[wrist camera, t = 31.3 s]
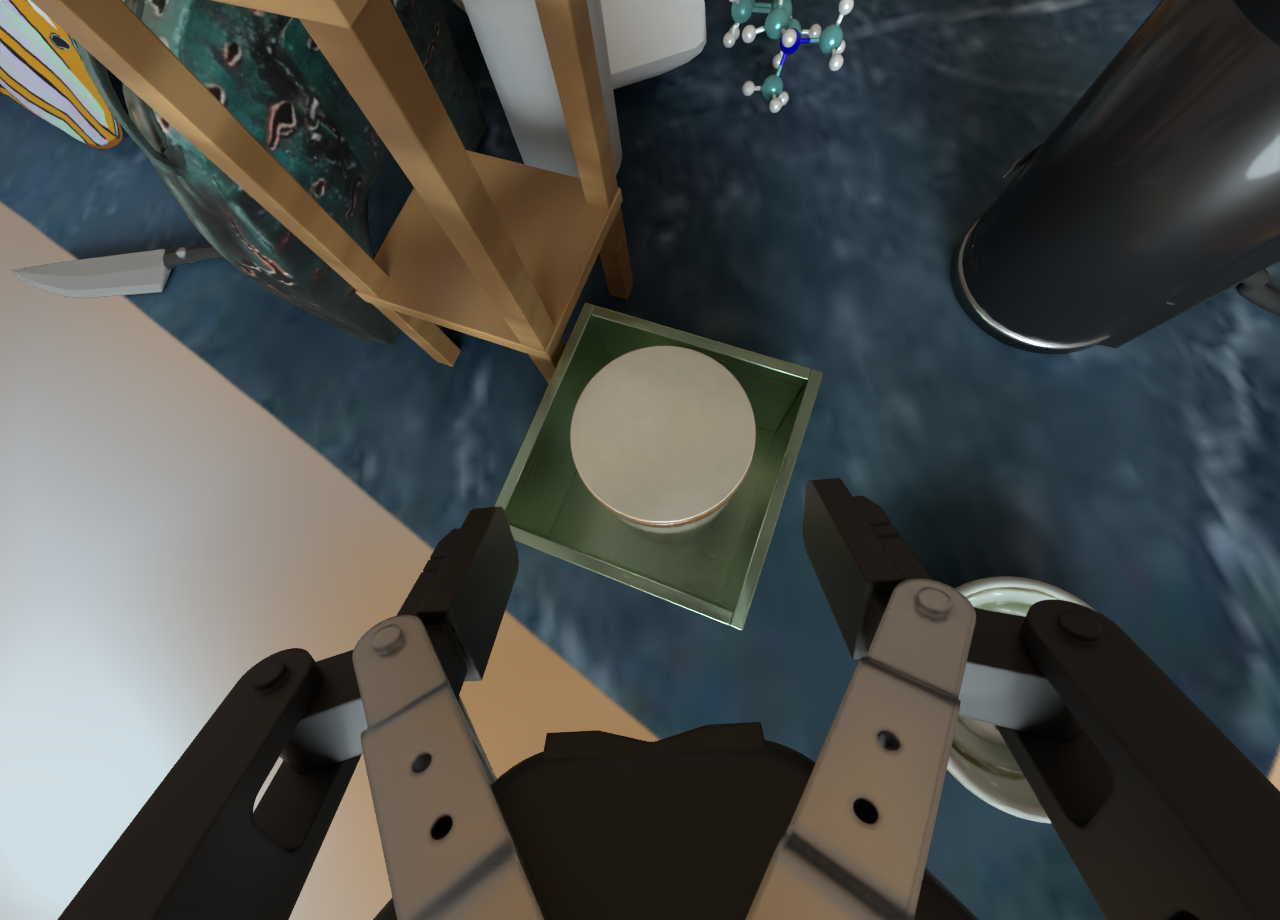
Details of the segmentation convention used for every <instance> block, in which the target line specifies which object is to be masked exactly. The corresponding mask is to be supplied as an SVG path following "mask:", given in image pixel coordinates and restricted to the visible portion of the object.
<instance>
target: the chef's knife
mask: <svg viewBox="0 0 1280 920" xmlns="http://www.w3.org/2000/svg"><path fill="white" fill-rule="evenodd" d="M220 257H223V256H222V255H221V254H220V253H219V252H218V251H217V250H216V249H215V248H214V247H213V246H212V245H211V244H206V245H198V246H190V247H181V248H168V249H160V250H153V251H145V252H137V253H129V254H121V255H113V256H105V257H97V258H89V259H82V260H74V261H67V262H60V263H53V264H46V265H40V266H33V267H27V268H22V269H16V270H12V272H13V273H14V274H16V275H17V276H18V277H19V278H21V279H22V280H23V281H24V282H25V283H27V284H28V285H30V286H33V287H36V288H40V289H43V290H46V291H49V292H52V293H55V294H59V295H62V296H65V297H76V298H94V297H105V296H118V295H131V294H143V293H155V292H162V291H163V289H164V287H165V285H166V282H167V280H168V277H169V274H170V271H171V269H172V268H174V267H175V266H177V265H180V264H187V263H192V262H197V261H202V260H206V259H212V258H220Z"/></svg>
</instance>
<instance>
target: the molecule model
mask: <svg viewBox="0 0 1280 920" xmlns="http://www.w3.org/2000/svg"><path fill="white" fill-rule="evenodd" d="M729 1H730V2H732V7H731V15H732V18H733V20H734V21H735V22H734V25H733V26H732V27H731V28H730V30H729V32H728V33H726V34H725V36H724V38H723V44H724V46H725V47H726V48H731V47H732V46H733V45H734V43H735V40H737V39H738V37H739V34H740V30H739V28H738V27H739V24H742V23H745V22H746V21H747V20H748V19H749V18H750V16H751V14H752V12H753V13H768V16H767V18H766V20H765V26H762V27H759V28H757V29H755V27H754V26H753V25H748V26H746V27H745V28H744V30H743V32H742V38H743V41H744V42H745V43H751V42H752V41H753V40H754V39H755V36H756V34H758V33H761V32H764V31H765V32H766V34H767V36H768V37H769V38H771V39H774V40H775V39H779V38H780V49H781V51H780V54H777V55H775V56H774V58H773V61H772V64H773V67H774V68H776V69H778V70H777V72H776V75H770V76H769V77H767V78H766V79H765V81H764V82H763V85H762V86H754V83H753V82H752V81H747V82H745V83H744V85H743V88H742V91H743V94H744V95H745V96H750V95H752V94H753V92H754V91H762V95H763V97H764V98H765V99H766V100H768V101H770V104H769V109H770V111H771V112H772V113H777V112H778V111H779V110H780V109H781V107H782V106H783V105H785V104H786V103H787V102H788V98H789V96H788V93H787V92H785V91H783V81H782V79H781V77H780V76H779V75H780V72H781V70H782V67H783V64H784V62H785V59H786V57H787V55H790V54H793V53H794V52H795V51H796V50H797V49H798V48H799V45H800V44H801V43H819V47H820V50H821V51H822V52H823V53H824V54H832V57H831V59H830V61H829V68H830V69H831V70H832V71H837V70H839V69H840V68H841V66H842V64H843V56H842V55H841V53H842V52H843V51H844V49H845V41H844V40H843V31H842V28H841V27H840V26H839V25H840V23H841V21H842V19H843V16H844V15H847V14H848V13H850V11H851V10H852V8H853V5H854V0H841V1H840V3H839V12H840V15H839V17H838V20H837V22H836V24H832V25H829V26H827V27H826V28H825V29H824V30H823V31H822V33H821V26H820V25H819V24H814V25H812V26H811V27H810V29H809V30H801V25H800V23H799V21H798V20H797V19H795V18H792V9H793V8H792V1H791V0H773V1H772V3H757V2H756V1H755V0H729ZM758 7H759V8H758ZM800 34H808V35H809V38H801V35H800ZM820 34H821V35H820ZM819 36H820V37H819ZM783 53H784V54H783Z"/></svg>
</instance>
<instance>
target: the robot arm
mask: <svg viewBox="0 0 1280 920" xmlns="http://www.w3.org/2000/svg"><path fill="white" fill-rule="evenodd" d="M1026 162H1027V164H1026V165H1025V166H1024V167H1023V169H1022V170H1021V171H1020V172H1019V173H1018V175H1017V176H1016V177H1015V178H1014V179H1013V181H1012V182H1011V183H1010V184H1009V185H1008V187H1007V188H1006V189H1005V190H1004V191H1003V193H1002V194H1001V195H1000V196H999V198H998V199H997V200H996V201H995V202H994V204H992V205H991V206H990V208H988V210H987V211H986V212H985V213H984V214H983V216H982V217H981V218H980V219H979V220H978V221H977V222H976V223H975V224H974V225H973V226H972V227H971V229H970V230H969V231H968V232H967V234H966V235H965V236H964V237H963V239H962V240H961V241H960V243H959V245H958V247H957V249H956V251H955V254H954V257H953V261H952V269H951V274H952V283H953V287H954V291H955V294H956V296H957V299H958V301H959V302H960V304H961V306H962V308H963V309H964V311H965V312H966V313H967V315H968V316H969V317H970V318H971V319H972V320H973V321H974V322H975V323H976V324H977V325H978V326H979V327H980V328H981V329H982V330H984V331H985V332H986V333H988V334H989V335H991V336H992V337H994V338H996V339H997V340H999V341H1001V342H1003V343H1005V344H1008V345H1010V346H1013V347H1015V348H1018V349H1022V350H1025V351H1030V352H1035V353H1043V354H1063V353H1071V352H1076V351H1080V350H1083V349H1086V348H1089V347H1091V346H1094V345H1096V344H1099V345H1105V346H1109V347H1113V348H1117V347H1119V346H1121V345H1123V344H1125V343H1126V342H1128V341H1130V340H1132V339H1134V338H1136V337H1138V336H1140V335H1141V334H1143V333H1145V332H1147V331H1149V330H1151V329H1153V328H1155V327H1156V326H1158V325H1160V324H1162V323H1164V322H1166V321H1168V320H1170V319H1171V318H1173V317H1175V316H1177V315H1179V314H1182V313H1185V312H1186V311H1188V310H1190V309H1192V308H1194V307H1196V306H1198V305H1200V304H1202V303H1203V302H1205V301H1207V300H1209V299H1211V298H1213V297H1215V296H1217V295H1218V294H1220V293H1222V292H1224V291H1226V290H1228V289H1230V288H1232V287H1233V286H1235V285H1237V284H1238V286H1237V290H1238V292H1239V294H1240V295H1241V296H1243V297H1244V298H1246V299H1248V300H1249V301H1251V302H1253V303H1254V304H1256V305H1258V306H1260V307H1262V308H1264V309H1266V310H1268V311H1270V312H1272V313H1275V314H1277V315H1280V292H1278V291H1276V290H1274V289H1273V288H1271V287H1269V286H1268V285H1266V283H1267V282H1268V280H1269V278H1270V276H1269V274H1268V272H1267V271H1266V270H1265V268H1267V267H1269V266H1271V265H1273V264H1274V263H1276V262H1278V261H1280V0H1162V1H1161V2H1160V3H1159V4H1158V5H1157V7H1156V8H1155V9H1154V10H1153V11H1152V13H1151V14H1150V15H1149V16H1148V17H1147V19H1146V20H1145V21H1144V22H1143V23H1142V25H1141V26H1140V27H1139V28H1138V30H1137V31H1136V32H1135V33H1134V34H1133V36H1132V37H1131V38H1130V39H1129V40H1128V42H1127V43H1126V44H1125V45H1124V46H1123V48H1122V49H1121V50H1120V51H1119V52H1118V54H1117V55H1116V56H1115V57H1114V59H1113V60H1112V61H1111V62H1110V63H1109V65H1108V66H1107V67H1106V68H1105V69H1104V71H1103V72H1102V73H1101V74H1100V75H1099V77H1098V78H1097V79H1096V80H1095V82H1094V83H1093V84H1092V85H1091V86H1090V88H1089V89H1088V90H1087V91H1086V92H1085V94H1084V95H1083V96H1082V97H1081V98H1080V100H1079V101H1078V102H1077V103H1076V104H1075V106H1074V107H1073V108H1072V109H1071V111H1070V112H1069V113H1068V114H1067V115H1066V117H1065V118H1064V119H1063V120H1062V121H1061V123H1060V124H1059V125H1058V126H1057V127H1056V129H1055V130H1054V131H1053V132H1052V133H1051V135H1050V136H1049V137H1048V138H1047V140H1046V141H1045V142H1044V143H1043V144H1041V145H1040V146H1038V147H1037V148H1035V149H1033V150H1032V151H1030V152H1029V153H1027V154H1026V155H1024V156H1023V157H1021V158H1020V159H1018V160H1017V161H1016V162H1015V163H1014V164H1013V166H1012V167H1011V168H1010V169H1009V171H1008V172H1007V173H1006V174H1005V176H1007V175H1008V174H1010V173H1011V172H1013V171H1014V170H1016V169H1017V168H1019V167H1020V166H1022V165H1023V164H1025V163H1026ZM1005 176H1004V177H1005ZM1004 177H1003V178H1004ZM803 538H804V544H805V548H806V551H807V554H808V556H809V558H810V561H811V563H812V565H813V568H814V570H815V572H816V575H817V577H818V579H819V582H820V584H821V586H822V589H823V591H824V593H825V596H826V598H827V600H828V603H829V605H830V607H831V610H832V612H833V614H834V617H835V619H836V621H837V623H838V626H839V628H840V630H841V633H842V635H843V637H844V640H845V642H846V644H847V647H848V649H849V651H850V654H851V656H852V658H853V660H854V659H860V661H859V663H858V665H857V667H856V670H855V672H854V675H853V677H852V679H851V682H850V684H849V686H848V689H847V691H846V693H845V696H844V698H843V700H842V703H841V705H840V707H839V710H838V712H837V715H836V717H835V719H834V722H833V724H832V726H831V729H830V731H829V733H828V736H827V738H826V740H825V743H824V745H823V748H822V750H821V752H820V755H819V757H818V759H817V762H816V763H815V762H814V761H812V760H811V759H809V758H808V757H806V756H804V755H803V754H801V753H799V752H797V751H795V750H793V749H791V748H789V747H786V746H784V745H781V744H778V743H775V742H771V741H767V740H764V736H763V731H762V726H761V722H754V723H734V724H715V725H705V726H702V727H699V728H696V729H693V730H690V731H687V732H684V733H681V734H678V735H674V736H671V737H668V738H665V739H662V740H659V741H655V742H647V741H642V740H637V739H633V738H629V737H625V736H620V735H615V734H611V733H607V732H602V731H580V732H560V733H547V736H546V741H545V747H544V752H541V753H538V754H536V755H534V756H531V757H529V758H527V759H525V760H523V761H522V762H520V763H518V764H517V765H515V766H514V767H512V768H511V769H509V770H508V771H507V772H505V773H504V774H503V775H501V776H500V777H499V778H498V779H497V778H496V776H495V774H494V772H493V770H492V768H491V766H490V763H489V762H488V759H487V757H486V754H485V752H484V750H483V748H482V745H481V743H480V741H479V739H478V736H477V734H476V732H475V729H474V727H473V725H472V723H471V720H470V718H469V716H468V714H467V711H466V709H465V707H464V704H463V702H462V700H461V698H460V696H459V693H460V690H461V687H462V685H463V682H464V681H479V680H482V678H483V675H484V672H485V669H486V666H487V663H488V659H489V657H490V654H491V651H492V648H493V645H494V642H495V639H496V636H497V632H498V630H499V627H500V624H501V621H502V618H503V615H504V612H505V609H506V606H507V603H508V600H509V596H510V593H511V590H512V587H513V584H514V581H515V578H516V575H517V572H518V564H519V560H518V551H517V548H516V545H515V542H514V538H513V535H512V532H511V529H510V526H509V523H508V520H507V517H506V514H505V511H504V509H503V508H502V507H488V508H476V509H472V510H471V511H470V512H469V514H468V516H467V518H466V520H465V521H464V523H463V525H462V527H461V528H460V529H453V530H452V531H451V532H450V533H449V534H448V535H447V536H445V537H444V538H443V539H442V540H441V541H440V542H439V543H438V545H437V546H436V548H435V550H434V552H433V553H432V555H431V558H430V560H429V561H428V562H427V564H426V566H425V567H424V569H423V573H421V574H420V576H419V578H418V580H417V581H416V583H415V585H414V587H413V588H412V590H411V592H410V593H409V595H408V597H407V599H406V600H405V602H404V604H403V606H402V607H401V609H400V611H399V612H398V614H397V616H394V617H391V618H388V619H386V620H384V621H382V622H380V623H378V624H377V625H375V626H374V627H372V628H371V629H370V630H369V631H367V632H366V633H365V634H364V635H363V636H362V637H361V639H360V640H359V641H358V643H357V644H356V646H355V648H354V650H351V651H348V652H345V653H342V654H339V655H336V656H333V657H330V658H327V659H324V660H321V661H318V662H315V661H314V659H313V658H312V656H311V655H310V654H309V652H307V651H306V650H303V649H299V648H292V649H287V650H284V651H280V652H277V653H275V654H273V655H271V656H269V657H267V658H265V659H263V660H262V661H260V662H259V663H257V664H256V665H255V666H253V667H252V668H251V669H250V670H248V671H247V672H246V673H245V674H244V675H243V676H242V677H241V679H240V680H239V681H238V682H237V683H236V685H235V686H234V687H233V689H232V690H231V691H230V693H229V694H228V695H227V697H226V698H225V699H224V701H223V702H222V703H221V704H220V706H219V707H218V708H217V710H216V712H214V714H213V715H212V716H211V718H210V719H209V720H208V722H207V723H206V724H205V726H204V727H203V728H202V730H201V731H200V732H199V734H198V735H197V736H196V738H195V739H194V740H193V742H192V743H191V744H190V746H189V747H188V748H187V749H186V751H185V752H184V753H183V755H182V756H181V758H180V759H179V760H178V761H177V763H176V764H175V765H174V767H173V768H172V769H171V770H170V772H169V773H168V774H167V776H166V777H165V779H164V780H163V781H162V782H161V784H160V785H159V786H158V788H157V789H156V790H155V792H154V793H153V794H152V796H151V797H150V798H149V800H148V801H147V802H146V804H145V805H144V806H143V807H142V809H141V810H140V811H139V813H138V814H137V815H136V817H135V818H134V819H133V821H132V822H131V823H130V825H129V826H128V827H127V829H126V830H125V831H124V833H123V834H122V835H121V837H120V838H119V839H118V840H117V842H116V843H115V844H114V846H113V847H112V849H111V850H110V851H109V852H108V854H107V855H106V856H105V858H104V859H103V860H102V862H101V863H100V864H99V866H98V867H97V868H96V870H95V871H94V872H93V874H92V875H91V876H90V877H89V879H88V880H87V881H86V883H85V884H84V885H83V887H82V888H81V889H80V891H79V892H78V893H77V895H76V896H75V897H74V899H73V900H72V901H71V902H70V904H69V905H68V906H67V908H66V909H65V910H64V912H63V913H62V915H61V916H60V917H59V918H58V920H288V919H289V917H290V915H291V913H292V910H293V908H294V906H295V904H296V901H297V899H298V897H299V895H300V892H301V890H302V888H303V885H304V883H305V881H306V879H307V876H308V874H309V872H310V870H311V868H312V865H313V863H314V861H315V858H316V856H317V854H318V852H319V850H320V847H321V845H322V842H323V840H324V838H325V836H326V834H327V831H328V829H329V827H330V824H331V822H332V820H333V818H334V816H335V813H336V811H337V809H338V807H339V804H340V802H341V800H342V798H343V795H344V793H345V791H346V788H347V786H348V784H349V782H350V779H351V777H352V775H353V773H354V771H355V768H356V766H357V763H358V762H359V759H360V757H361V755H362V754H363V755H364V760H365V764H366V769H367V775H368V779H369V784H370V789H371V794H372V799H373V804H374V808H375V814H376V818H377V823H378V828H379V833H380V837H381V843H382V848H383V852H384V858H385V862H386V867H387V872H388V877H389V882H390V887H391V892H392V899H391V900H390V901H389V902H388V903H387V904H386V905H385V907H384V908H383V909H382V910H381V911H380V912H379V913H378V914H377V916H376V917H375V918H374V919H373V920H979V919H978V918H977V917H976V916H975V915H974V914H973V913H972V912H971V911H970V910H969V909H968V908H967V907H966V906H965V905H963V904H962V903H961V902H960V901H959V900H958V899H957V898H956V897H955V896H954V895H953V894H952V893H951V892H950V891H949V890H948V889H947V888H946V887H945V886H944V885H943V884H942V883H941V882H940V881H939V880H938V879H937V878H936V877H935V876H934V875H933V874H932V873H931V872H930V871H929V870H928V869H927V868H926V867H925V866H926V861H927V857H928V852H929V847H930V843H931V838H932V834H933V829H934V825H935V820H936V815H937V811H938V806H939V802H940V797H941V793H942V788H943V783H944V779H945V774H946V770H947V765H948V761H949V756H950V751H951V747H952V742H953V738H954V733H955V728H956V724H957V719H958V716H961V717H965V718H969V719H973V720H978V721H982V722H986V723H990V724H994V725H996V727H997V729H998V731H999V732H1000V734H1001V736H1002V738H1003V739H1004V741H1005V743H1006V745H1007V746H1008V748H1009V750H1010V752H1011V753H1012V755H1013V757H1014V759H1015V760H1016V762H1017V764H1018V765H1019V767H1020V769H1021V771H1022V772H1023V774H1024V776H1025V778H1026V779H1027V781H1028V783H1029V785H1030V786H1031V788H1032V790H1033V792H1034V793H1035V795H1036V797H1037V799H1038V800H1039V802H1040V804H1041V806H1042V807H1043V809H1044V811H1045V813H1046V814H1047V816H1048V818H1049V819H1050V821H1051V823H1052V825H1053V826H1054V828H1055V830H1056V832H1057V833H1058V835H1059V837H1060V839H1061V840H1062V842H1063V844H1064V846H1065V847H1066V849H1067V851H1068V853H1069V854H1070V856H1071V858H1072V860H1073V861H1074V863H1075V865H1076V867H1077V868H1078V870H1079V872H1080V874H1081V875H1082V877H1083V879H1084V880H1085V882H1086V884H1087V886H1088V887H1089V889H1090V891H1091V893H1092V894H1093V896H1094V898H1095V900H1096V901H1097V903H1098V905H1099V907H1100V908H1101V910H1102V912H1103V914H1104V915H1105V917H1106V919H1107V920H1280V792H1279V790H1277V788H1276V787H1275V786H1274V785H1273V784H1272V783H1271V782H1270V781H1269V780H1268V779H1267V778H1266V777H1265V776H1264V775H1263V774H1262V773H1261V772H1260V771H1259V770H1258V769H1257V768H1256V767H1255V766H1254V765H1253V764H1252V763H1251V762H1250V761H1249V760H1248V759H1247V758H1246V757H1245V756H1244V754H1243V753H1242V752H1241V751H1240V750H1239V749H1238V748H1237V747H1236V746H1235V745H1234V744H1233V743H1232V742H1231V741H1230V740H1229V739H1228V738H1227V737H1226V736H1225V735H1224V734H1223V733H1222V732H1221V731H1220V730H1219V729H1218V728H1217V727H1216V726H1215V725H1214V724H1213V723H1212V722H1211V721H1210V720H1209V719H1208V718H1207V717H1206V715H1205V714H1204V713H1203V712H1202V711H1201V710H1200V709H1199V708H1198V707H1197V706H1196V705H1195V704H1194V703H1193V702H1192V701H1191V700H1190V699H1189V698H1188V697H1187V696H1186V695H1185V694H1184V693H1183V692H1182V691H1181V690H1180V689H1179V688H1178V687H1177V686H1176V685H1175V684H1174V683H1173V682H1172V681H1171V680H1170V679H1169V677H1168V676H1167V675H1166V674H1165V673H1164V672H1163V671H1162V670H1161V669H1160V668H1159V667H1158V666H1157V665H1156V664H1155V663H1154V662H1153V661H1152V660H1151V659H1150V658H1149V657H1148V656H1147V655H1146V654H1145V653H1144V652H1143V651H1142V650H1141V649H1140V648H1139V647H1138V646H1137V645H1136V644H1135V643H1134V642H1133V641H1132V639H1131V638H1130V637H1129V636H1128V635H1127V634H1126V633H1125V632H1124V631H1123V630H1122V629H1121V628H1120V627H1119V626H1117V625H1116V624H1115V623H1114V622H1113V621H1111V620H1110V619H1108V618H1107V617H1105V616H1104V615H1102V614H1100V613H1098V612H1096V611H1094V610H1093V609H1090V608H1088V607H1085V606H1083V605H1080V604H1077V603H1073V602H1069V601H1064V600H1052V599H1050V600H1042V601H1038V602H1036V603H1034V604H1033V605H1032V606H1031V607H1030V608H1029V610H1028V612H1027V615H1026V617H1024V616H1018V615H1012V614H1007V613H1001V612H995V611H989V610H984V609H979V608H976V607H973V605H972V604H971V602H970V601H969V600H968V599H967V598H966V597H965V596H964V595H963V594H962V593H960V592H959V591H957V590H956V589H954V588H952V587H950V586H948V585H946V584H944V583H941V582H938V581H934V580H932V578H931V577H930V575H929V574H928V573H927V571H926V570H925V568H924V567H923V566H922V564H921V563H920V561H919V560H918V559H917V557H916V556H915V555H914V553H913V552H912V550H911V549H910V548H909V546H908V545H907V543H906V542H905V541H904V539H903V538H902V537H900V534H899V532H898V531H897V529H896V528H895V527H894V525H892V524H891V521H890V520H889V518H888V517H887V515H886V514H885V513H884V511H883V510H882V508H881V507H879V506H878V505H876V504H875V503H873V502H872V501H870V500H869V499H867V498H866V497H864V496H856V497H852V495H851V494H850V492H849V491H848V489H847V488H846V486H845V485H844V483H843V482H842V480H841V479H839V478H835V479H824V480H812V481H808V483H807V486H806V496H805V509H804V521H803ZM279 756H280V757H281V758H282V759H283V762H282V764H281V766H280V767H279V769H278V771H277V773H276V774H275V776H274V778H273V780H272V781H271V783H270V785H269V787H268V788H267V790H266V792H265V794H264V795H263V797H262V799H261V801H260V802H259V804H258V806H257V808H256V809H255V811H254V813H253V807H254V802H255V799H256V796H257V794H258V792H259V790H260V788H261V787H262V785H263V783H264V781H265V780H266V778H267V776H268V775H269V773H270V771H271V770H272V768H273V766H274V765H275V763H276V761H277V759H278V757H279Z"/></svg>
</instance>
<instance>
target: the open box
mask: <svg viewBox="0 0 1280 920" xmlns="http://www.w3.org/2000/svg"><path fill="white" fill-rule="evenodd" d="M652 346H677V347H683V348H687V349H692V350H695V351H697V352H700V353H703V354H705V355H707V356H709V357H710V358H712V359H714V360H715V361H717V362H718V363H720V364H721V365H723V366H724V367H725V368H726V369H727V370H728V371H729V372H731V373H732V375H733V376H734V377H735V378H736V379H737V380H738V382H739V383H740V385H741V386H742V388H743V389H744V391H745V392H746V395H747V397H748V399H749V401H750V403H751V406H752V410H753V413H754V417H755V423H756V447H755V453H754V456H753V460H752V463H751V466H750V468H749V471H748V473H747V475H746V477H745V478H744V480H743V482H742V483H741V485H740V487H739V488H738V490H737V491H736V492H735V494H734V495H733V496H732V497H731V499H730V501H729V502H728V504H727V506H726V507H725V509H724V511H723V512H722V514H721V516H720V517H719V519H718V520H717V522H716V523H715V524H714V526H713V527H712V528H711V529H710V530H708V531H707V532H706V533H705V534H703V535H702V536H700V537H698V538H697V539H695V540H692V541H690V542H687V543H683V544H676V545H663V544H657V543H653V542H650V541H648V540H645V539H643V538H641V537H640V536H638V535H637V534H635V533H634V532H633V531H632V530H630V529H629V528H628V527H627V526H626V525H625V524H624V523H623V522H622V521H621V520H620V519H619V518H618V517H617V516H616V515H615V514H614V513H612V512H611V511H609V510H608V509H607V508H606V507H605V506H603V505H602V504H601V503H600V502H599V501H598V500H597V499H596V498H595V497H594V496H593V495H592V494H591V493H590V492H589V490H588V489H587V487H586V486H585V485H584V483H583V482H582V480H581V478H580V476H579V474H578V472H577V470H576V467H575V464H574V461H573V457H572V452H571V444H570V431H571V422H572V417H573V412H574V410H575V407H576V404H577V401H578V399H579V397H580V395H581V393H582V391H583V390H584V389H585V387H586V386H587V384H588V383H589V381H590V380H591V379H592V378H593V377H594V376H595V375H596V373H598V372H599V371H600V370H601V369H602V368H603V367H604V366H606V365H607V364H609V363H610V362H611V361H613V360H614V359H616V358H618V357H620V356H622V355H624V354H626V353H629V352H631V351H634V350H637V349H641V348H645V347H652ZM822 377H823V372H819V371H816V370H811V369H809V368H806V367H802V366H799V365H796V364H792V363H789V362H786V361H782V360H779V359H775V358H772V357H769V356H765V355H762V354H758V353H755V352H752V351H748V350H745V349H741V348H738V347H735V346H731V345H728V344H724V343H721V342H718V341H714V340H711V339H707V338H704V337H701V336H697V335H694V334H691V333H687V332H684V331H680V330H677V329H674V328H670V327H667V326H663V325H660V324H657V323H653V322H650V321H646V320H643V319H640V318H636V317H633V316H629V315H626V314H623V313H619V312H616V311H612V310H609V309H606V308H602V307H599V306H595V305H592V304H589V303H585V304H584V306H583V309H582V311H581V313H580V315H579V317H578V320H577V322H576V324H575V326H574V329H573V331H572V333H571V335H570V338H569V340H568V342H567V344H566V347H565V349H564V351H563V353H562V356H561V358H560V360H559V362H558V365H557V367H556V369H555V371H554V374H553V376H552V378H551V380H550V383H549V385H548V387H547V389H546V392H545V394H544V396H543V398H542V401H541V403H540V405H539V407H538V410H537V412H536V414H535V416H534V419H533V421H532V423H531V425H530V427H529V430H528V432H527V434H526V436H525V439H524V441H523V443H522V445H521V448H520V450H519V452H518V454H517V457H516V459H515V461H514V463H513V466H512V468H511V470H510V472H509V475H508V477H507V479H506V481H505V484H504V486H503V488H502V490H501V493H500V495H499V497H498V499H497V502H496V504H495V506H494V507H502V508H503V509H504V511H505V514H506V517H507V520H508V523H509V526H510V529H511V532H512V535H513V538H514V540H515V541H517V542H520V543H523V544H525V545H528V546H530V547H533V548H535V549H538V550H540V551H543V552H545V553H548V554H550V555H553V556H555V557H558V558H560V559H563V560H565V561H568V562H570V563H573V564H575V565H578V566H580V567H583V568H585V569H588V570H590V571H593V572H595V573H598V574H600V575H603V576H605V577H608V578H611V579H613V580H616V581H618V582H621V583H623V584H626V585H628V586H631V587H633V588H636V589H638V590H641V591H643V592H646V593H648V594H651V595H653V596H656V597H658V598H661V599H663V600H666V601H668V602H671V603H673V604H676V605H678V606H681V607H683V608H686V609H688V610H691V611H693V612H696V613H699V614H701V615H704V616H706V617H709V618H711V619H714V620H716V621H719V622H721V623H724V624H726V625H730V626H731V627H734V628H736V629H739V630H743V628H744V625H745V622H746V618H747V615H748V612H749V609H750V606H751V603H752V599H753V596H754V593H755V590H756V587H757V584H758V580H759V577H760V574H761V571H762V568H763V564H764V561H765V558H766V555H767V552H768V549H769V545H770V542H771V539H772V536H773V533H774V530H775V526H776V523H777V520H778V517H779V514H780V510H781V507H782V504H783V501H784V498H785V495H786V491H787V488H788V485H789V482H790V479H791V476H792V472H793V469H794V466H795V463H796V460H797V456H798V453H799V450H800V447H801V444H802V441H803V437H804V434H805V431H806V428H807V425H808V422H809V418H810V415H811V412H812V409H813V406H814V403H815V399H816V396H817V393H818V390H819V387H820V383H821V380H822Z"/></svg>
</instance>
